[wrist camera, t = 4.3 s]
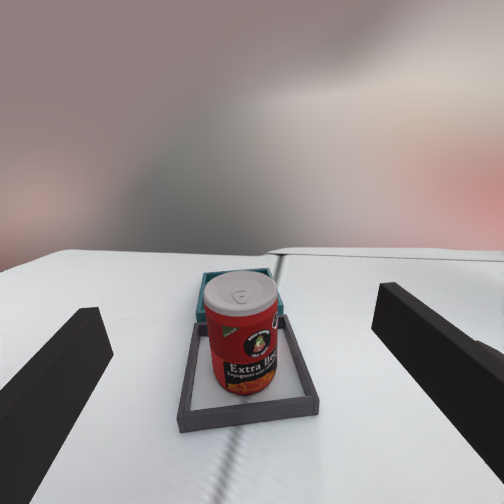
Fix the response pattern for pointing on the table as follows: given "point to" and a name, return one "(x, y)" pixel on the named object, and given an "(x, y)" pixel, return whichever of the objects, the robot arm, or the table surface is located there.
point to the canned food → (242, 329)
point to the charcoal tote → (252, 410)
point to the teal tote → (209, 276)
